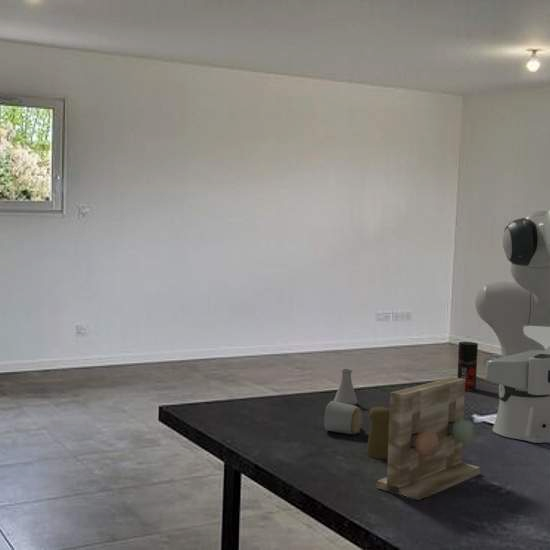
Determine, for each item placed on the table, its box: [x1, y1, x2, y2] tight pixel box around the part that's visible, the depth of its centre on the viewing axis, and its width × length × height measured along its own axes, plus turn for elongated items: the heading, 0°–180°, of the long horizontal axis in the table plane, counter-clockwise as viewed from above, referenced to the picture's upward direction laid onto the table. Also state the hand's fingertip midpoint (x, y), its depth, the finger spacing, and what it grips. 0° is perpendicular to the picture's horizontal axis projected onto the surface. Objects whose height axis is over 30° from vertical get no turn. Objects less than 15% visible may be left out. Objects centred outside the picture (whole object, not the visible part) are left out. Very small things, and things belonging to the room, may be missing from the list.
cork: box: [365, 406, 390, 459], centre depth 184 cm, size 6×6×11 cm
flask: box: [333, 368, 359, 406], centre depth 235 cm, size 7×7×10 cm
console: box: [376, 376, 481, 501], centre depth 166 cm, size 10×24×20 cm, turn 137°
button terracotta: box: [411, 431, 439, 456], centre depth 160 cm, size 7×5×5 cm, turn 47°
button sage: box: [448, 419, 475, 444], centre depth 171 cm, size 7×5×5 cm, turn 47°
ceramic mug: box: [323, 400, 363, 435], centre depth 204 cm, size 11×8×8 cm
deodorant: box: [456, 341, 479, 392], centre depth 259 cm, size 6×6×15 cm
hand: (487, 360), depth 152 cm, fingers closed
